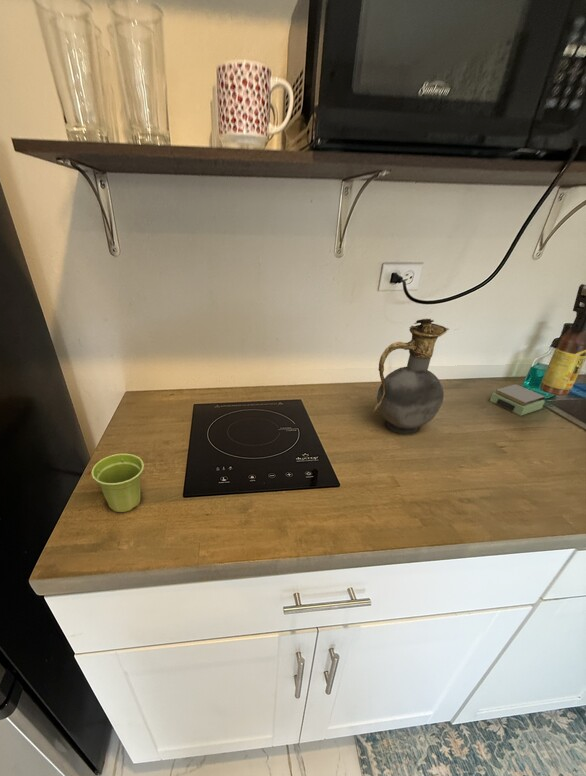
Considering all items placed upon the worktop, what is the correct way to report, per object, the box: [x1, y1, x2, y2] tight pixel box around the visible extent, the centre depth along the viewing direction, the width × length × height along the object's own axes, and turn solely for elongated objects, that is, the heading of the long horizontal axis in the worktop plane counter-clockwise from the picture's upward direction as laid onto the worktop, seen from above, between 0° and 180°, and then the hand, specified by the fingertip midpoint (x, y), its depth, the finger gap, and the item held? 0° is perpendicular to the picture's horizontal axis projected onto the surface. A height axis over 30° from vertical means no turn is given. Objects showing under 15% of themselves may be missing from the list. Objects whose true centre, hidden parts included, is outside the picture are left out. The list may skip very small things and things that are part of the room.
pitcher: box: [372, 318, 450, 435], centre depth 96 cm, size 11×19×30 cm, turn 108°
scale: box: [489, 392, 546, 416], centre depth 117 cm, size 10×10×3 cm
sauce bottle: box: [539, 312, 586, 396], centre depth 90 cm, size 6×6×20 cm
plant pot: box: [91, 453, 145, 513], centre depth 76 cm, size 9×9×9 cm
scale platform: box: [494, 383, 546, 405], centre depth 116 cm, size 9×9×1 cm
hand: (582, 329), depth 87 cm, fingers closed on sauce bottle, 4 cm apart
